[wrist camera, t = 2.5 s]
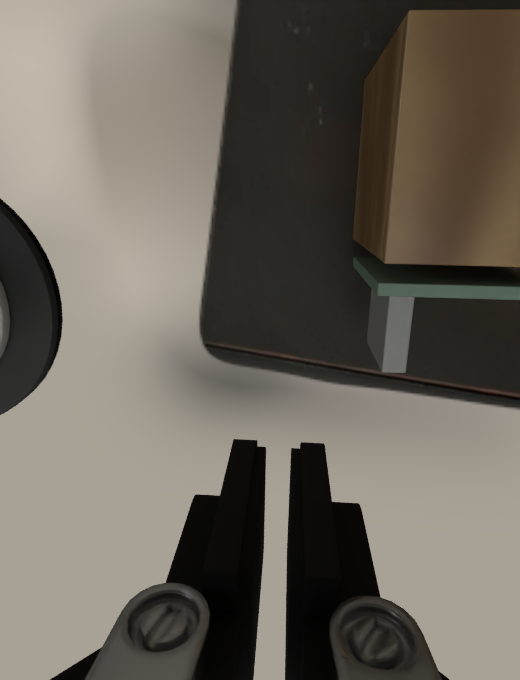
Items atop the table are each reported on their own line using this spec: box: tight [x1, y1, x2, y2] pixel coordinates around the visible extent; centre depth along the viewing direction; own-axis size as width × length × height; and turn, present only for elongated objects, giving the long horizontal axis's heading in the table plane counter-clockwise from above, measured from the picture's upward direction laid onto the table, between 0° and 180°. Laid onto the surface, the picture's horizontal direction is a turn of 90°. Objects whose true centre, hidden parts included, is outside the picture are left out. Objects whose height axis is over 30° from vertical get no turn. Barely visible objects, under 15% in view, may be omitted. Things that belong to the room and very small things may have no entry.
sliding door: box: [353, 257, 520, 373], centre depth 25 cm, size 8×5×9 cm, turn 89°
